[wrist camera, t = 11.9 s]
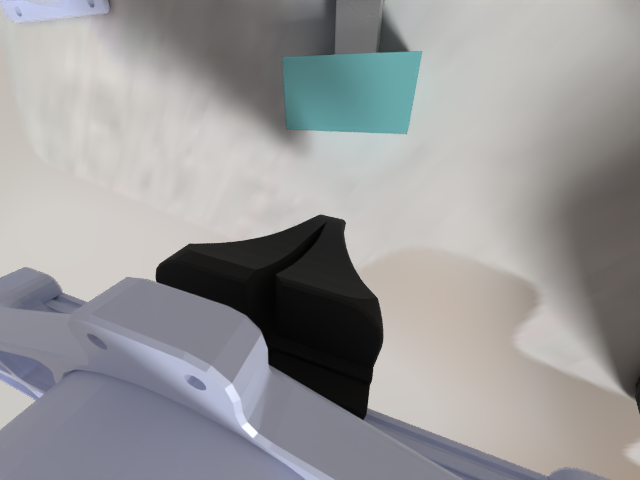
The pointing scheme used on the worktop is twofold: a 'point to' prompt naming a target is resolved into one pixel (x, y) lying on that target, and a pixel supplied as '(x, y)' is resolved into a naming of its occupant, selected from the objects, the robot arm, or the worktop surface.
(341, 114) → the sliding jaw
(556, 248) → the worktop surface
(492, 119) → the worktop surface
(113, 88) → the worktop surface
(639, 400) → the coffee jar
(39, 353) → the robot arm
